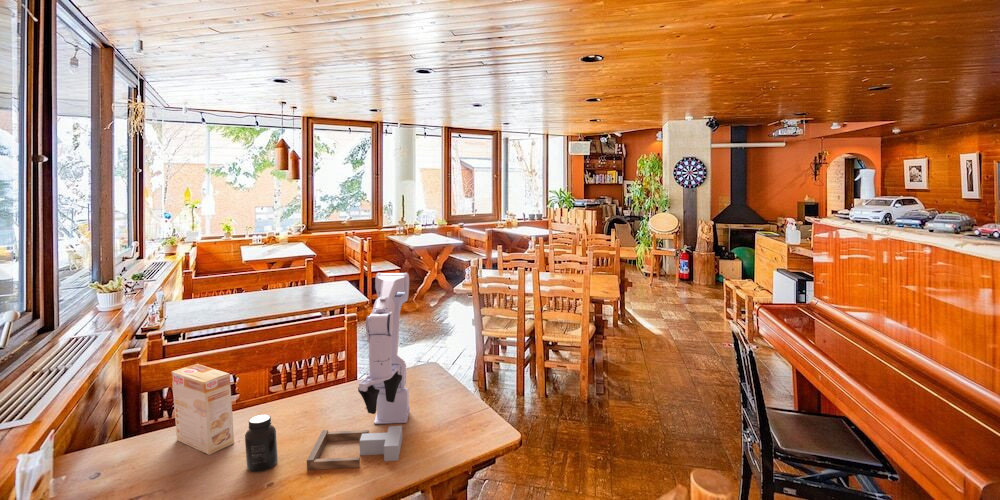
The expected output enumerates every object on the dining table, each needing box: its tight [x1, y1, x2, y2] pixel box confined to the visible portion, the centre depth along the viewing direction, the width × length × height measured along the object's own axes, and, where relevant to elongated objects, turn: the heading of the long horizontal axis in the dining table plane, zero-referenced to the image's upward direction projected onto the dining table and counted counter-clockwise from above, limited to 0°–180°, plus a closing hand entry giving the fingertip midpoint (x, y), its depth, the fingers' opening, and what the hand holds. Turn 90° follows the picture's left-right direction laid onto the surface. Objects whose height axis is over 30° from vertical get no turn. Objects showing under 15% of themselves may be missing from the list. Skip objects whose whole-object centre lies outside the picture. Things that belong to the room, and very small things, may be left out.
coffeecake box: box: [170, 363, 235, 456], centre depth 126 cm, size 15×7×20 cm, turn 62°
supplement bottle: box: [244, 414, 278, 473], centre depth 116 cm, size 7×7×12 cm
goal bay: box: [306, 429, 370, 471], centre depth 123 cm, size 12×14×2 cm
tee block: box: [359, 425, 403, 462], centre depth 124 cm, size 10×10×4 cm
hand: (381, 407), depth 127 cm, fingers open, 7 cm apart
